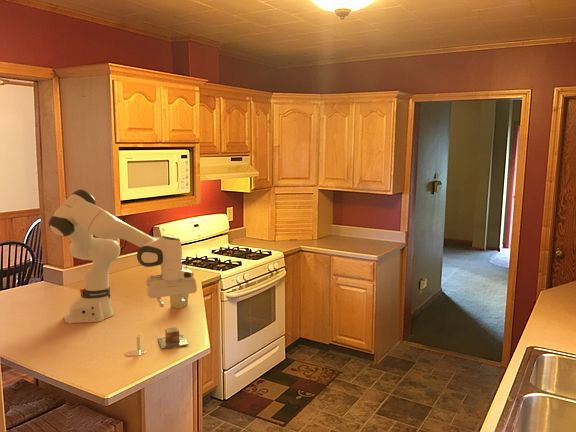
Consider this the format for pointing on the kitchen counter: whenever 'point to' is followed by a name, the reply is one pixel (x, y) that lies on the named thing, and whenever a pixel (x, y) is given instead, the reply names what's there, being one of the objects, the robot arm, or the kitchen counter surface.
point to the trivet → (164, 344)
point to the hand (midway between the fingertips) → (172, 305)
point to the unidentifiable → (135, 352)
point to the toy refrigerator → (178, 298)
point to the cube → (172, 335)
